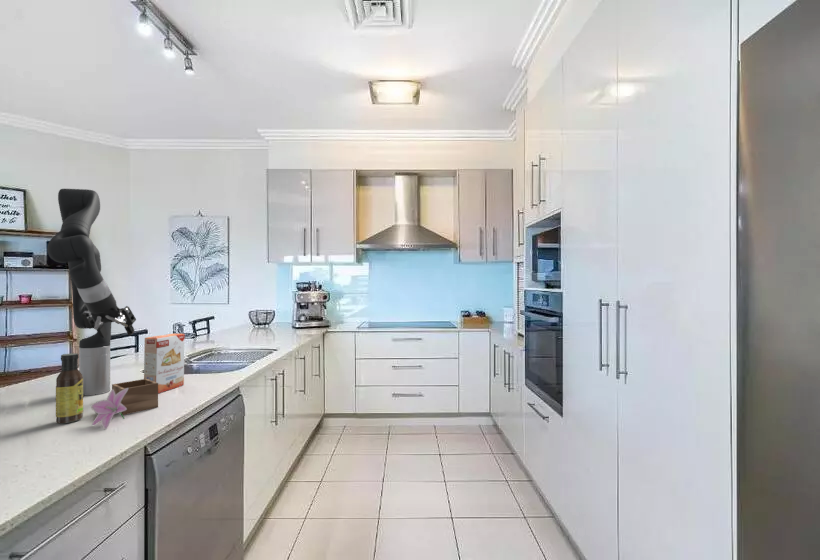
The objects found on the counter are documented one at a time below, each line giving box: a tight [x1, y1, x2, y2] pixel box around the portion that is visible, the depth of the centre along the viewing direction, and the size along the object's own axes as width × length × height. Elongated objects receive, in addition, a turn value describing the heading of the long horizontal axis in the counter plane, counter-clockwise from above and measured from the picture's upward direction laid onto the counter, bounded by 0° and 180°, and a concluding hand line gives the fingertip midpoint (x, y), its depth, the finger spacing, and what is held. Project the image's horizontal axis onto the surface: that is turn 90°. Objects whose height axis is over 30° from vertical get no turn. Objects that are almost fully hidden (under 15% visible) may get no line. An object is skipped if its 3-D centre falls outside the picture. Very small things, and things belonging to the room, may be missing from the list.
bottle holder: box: [111, 378, 159, 416], centre depth 133 cm, size 10×10×8 cm
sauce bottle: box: [55, 352, 84, 424], centre depth 121 cm, size 6×6×20 cm
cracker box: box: [143, 333, 186, 394], centre depth 156 cm, size 14×6×21 cm, turn 168°
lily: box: [90, 388, 129, 430], centre depth 119 cm, size 12×12×10 cm
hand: (118, 335), depth 136 cm, fingers open, 8 cm apart
